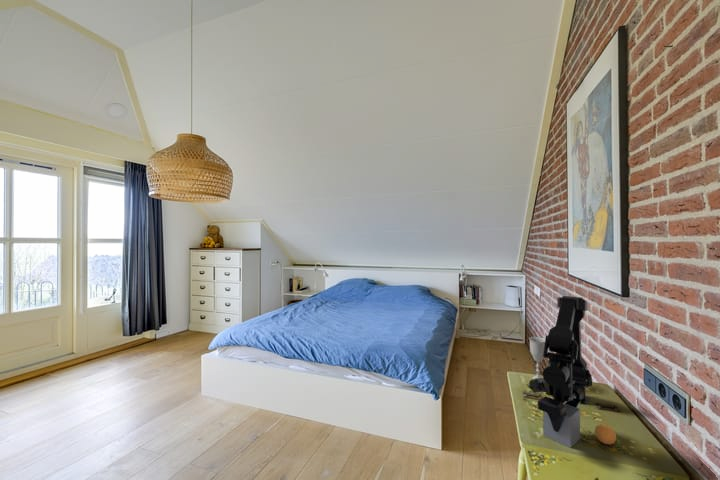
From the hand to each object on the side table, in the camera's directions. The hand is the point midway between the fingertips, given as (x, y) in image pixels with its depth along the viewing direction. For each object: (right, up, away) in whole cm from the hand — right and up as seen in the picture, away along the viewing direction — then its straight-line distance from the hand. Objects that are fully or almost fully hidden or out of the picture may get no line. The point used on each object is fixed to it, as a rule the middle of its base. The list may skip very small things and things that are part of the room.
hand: (561, 426), depth 95 cm
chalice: (+14, -3, +37) cm, 39 cm away
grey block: (0, -3, 0) cm, 3 cm away
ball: (+11, 0, -3) cm, 11 cm away
